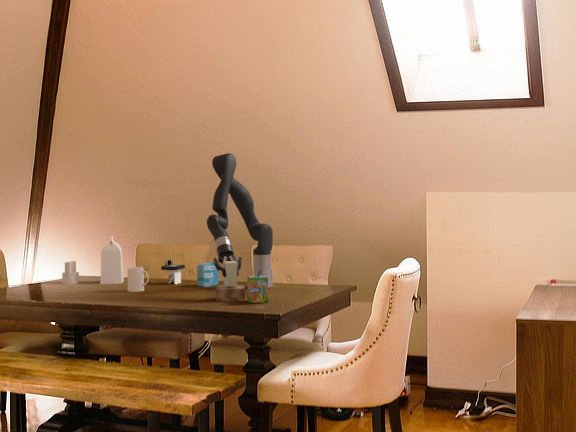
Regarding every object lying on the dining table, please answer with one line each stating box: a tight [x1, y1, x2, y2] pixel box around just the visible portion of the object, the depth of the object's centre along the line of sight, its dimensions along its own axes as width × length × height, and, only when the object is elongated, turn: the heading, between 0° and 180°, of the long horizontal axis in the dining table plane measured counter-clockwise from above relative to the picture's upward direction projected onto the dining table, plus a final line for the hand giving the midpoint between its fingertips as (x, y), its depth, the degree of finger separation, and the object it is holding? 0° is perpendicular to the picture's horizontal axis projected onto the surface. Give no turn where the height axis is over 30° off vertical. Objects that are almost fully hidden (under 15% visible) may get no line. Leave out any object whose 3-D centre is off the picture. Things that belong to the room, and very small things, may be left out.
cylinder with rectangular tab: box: [61, 260, 80, 285], centre depth 449 cm, size 9×9×12 cm
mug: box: [126, 266, 150, 293], centre depth 409 cm, size 12×8×12 cm
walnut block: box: [215, 284, 246, 303], centre depth 372 cm, size 13×13×6 cm
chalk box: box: [246, 269, 269, 304], centre depth 363 cm, size 9×9×15 cm
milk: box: [100, 235, 125, 285], centre depth 450 cm, size 12×12×26 cm
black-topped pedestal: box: [160, 259, 186, 285], centre depth 441 cm, size 28×26×13 cm
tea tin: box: [223, 260, 238, 286], centre depth 372 cm, size 5×5×11 cm
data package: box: [196, 262, 219, 288], centre depth 428 cm, size 12×4×12 cm, turn 142°
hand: (231, 275), depth 370 cm, fingers closed on tea tin, 5 cm apart
